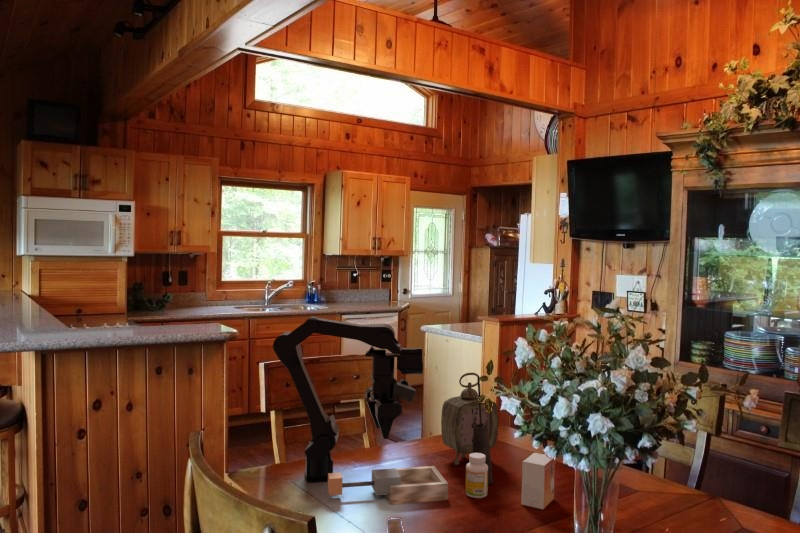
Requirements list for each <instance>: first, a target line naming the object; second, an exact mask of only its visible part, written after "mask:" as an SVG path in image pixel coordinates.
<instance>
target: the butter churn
mask: <svg viewBox="0 0 800 533" xmlns="http://www.w3.org/2000/svg"><path fill="white" fill-rule="evenodd" d="M476 377H477V378H476V379H477V382H478V385H477V393H478V399H479V397H480V396H481V382H480V381H481V379H480V380H479V377H480V375H479V374H478V376H476ZM481 397H482V396H481ZM479 416H480V424H476V425H474V428H473V445H472V447H473V448H472V449H473V453H482V454H484V455H485V456H486V461H485V463H486V464H487V466H488V486H489V485H491V484H493V471H492V469H493V468H492V456H490V455H491V448H490V442H489V431H488V422H485V423H484V424H482V419H481V418H482V417H481V416H482V415H481V403H479Z"/></svg>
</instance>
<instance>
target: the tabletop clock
mask: <svg viewBox="0 0 800 533" xmlns="http://www.w3.org/2000/svg"><path fill="white" fill-rule="evenodd" d="M478 375H479V374H477V373H476V372H466V373H464V374H463V375H461V376H460V378H459V381H458V383H459V386H461V387H462V388H464V389H463V390H462V391H461V392H460V395H459V396H455V397H454V396H453V397H450V398H448V399H446V400H445V401H444V402H443V404H442V408H441V418H440V419H441V421H440V424H441V425H440V426H441V427H440V428H441V437H442V438H441V439H442V442H443V444H444V445H445V446H446V447H449V449H452V450H454V451H455V452H456V455H455V459H454V460H453V464H454V466H459V464H460V460H459V456H460V457H461V458H463V459H464V458H465V457H466V456H467V454H471V453H473V449H472V448H473V447H472V445H473V428H474V425H476V424H480V416H479V403H478V390H476V389H474V387H476V386H478V381H477V382H475V383H474V384H472V382H467V385H465V384H462V380H463V379H464V377H466V376H475V377H477V376H478ZM479 380H480V381H481V377H480V376H479ZM492 403H493V406H492V411H491V412H490V413H489V412H487V411H486V409H485V407H484V403H481V415H482V416H481V417H482V418H481V419H482V424H484V423H485V422H488V431H489V442H490V449H492V448H493V447H495V445H496V443H497V439H498V432H499V412H498V411H499V409H498V406H497V403H496V402H495V401H492ZM491 455H492V454H490V456H491ZM491 457H492V456H491Z"/></svg>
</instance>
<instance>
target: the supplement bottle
mask: <svg viewBox="0 0 800 533" xmlns="http://www.w3.org/2000/svg"><path fill="white" fill-rule="evenodd" d="M468 457H469V458H468V459H469V460H468V461H469V462H468V463H466V465H465V494H466V495H467V496H468V497H469V498H474V499H483V498H485V497H487V496H488V494H489V492H488V488H489V485H488V466H487V464H486V463H485V461H486V456H485V455H484V454H482V453H469V455H468Z"/></svg>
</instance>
